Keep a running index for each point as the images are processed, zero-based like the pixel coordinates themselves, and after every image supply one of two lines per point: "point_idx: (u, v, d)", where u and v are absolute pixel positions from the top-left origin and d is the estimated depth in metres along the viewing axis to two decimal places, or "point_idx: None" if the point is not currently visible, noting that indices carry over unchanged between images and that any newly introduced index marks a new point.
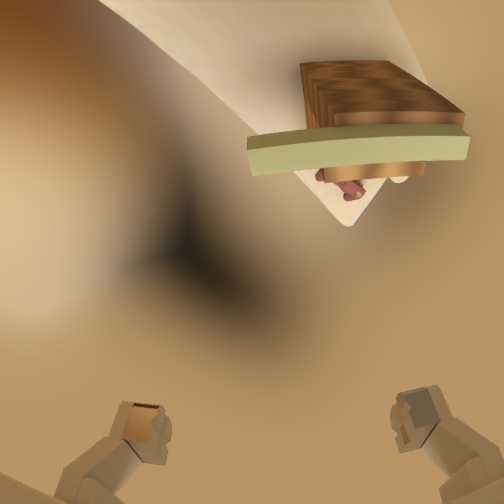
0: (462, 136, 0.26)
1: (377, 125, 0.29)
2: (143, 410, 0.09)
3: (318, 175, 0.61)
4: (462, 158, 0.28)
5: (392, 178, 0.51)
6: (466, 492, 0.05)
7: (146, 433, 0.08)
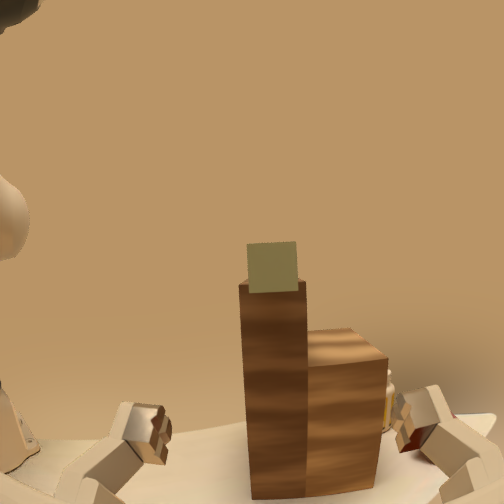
0: None
1: None
2: (143, 411, 0.09)
3: None
4: None
5: None
6: (466, 492, 0.05)
7: (146, 433, 0.08)
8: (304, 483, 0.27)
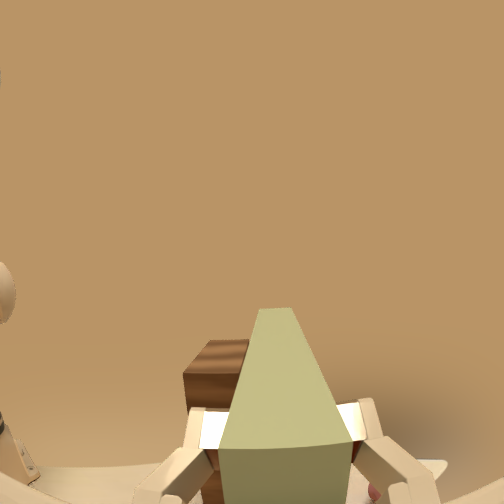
0: (259, 311, 0.29)
1: None
2: (216, 415, 0.09)
3: None
4: (289, 308, 0.29)
5: None
6: None
7: None
8: None
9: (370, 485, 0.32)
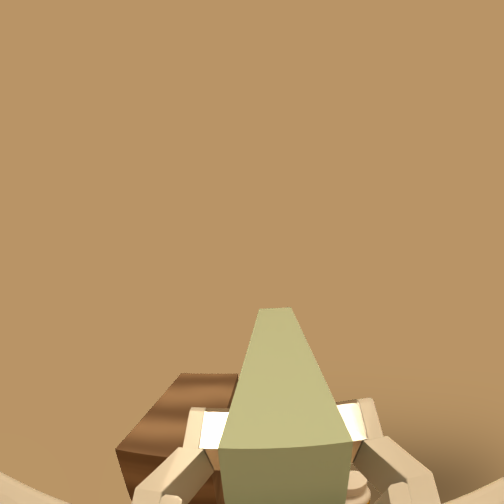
0: (259, 310, 0.29)
1: None
2: (216, 415, 0.09)
3: None
4: (289, 308, 0.29)
5: (361, 484, 0.27)
6: None
7: None
8: None
9: None
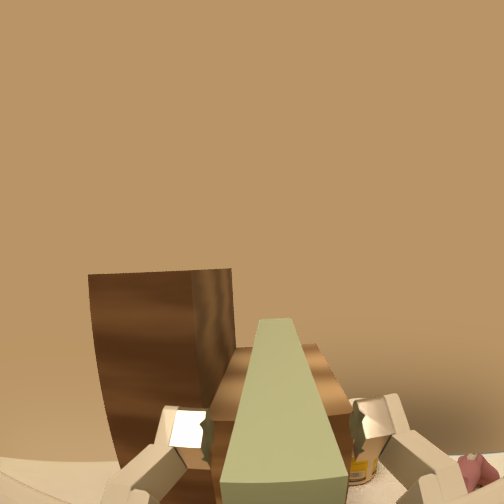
0: (259, 321, 0.29)
1: None
2: (189, 414, 0.09)
3: None
4: (289, 318, 0.29)
5: None
6: None
7: (196, 438, 0.08)
8: None
9: None
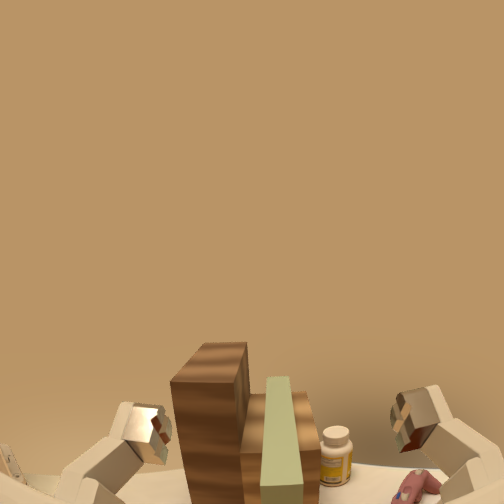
0: (267, 380, 0.40)
1: None
2: (143, 411, 0.09)
3: None
4: (287, 377, 0.41)
5: (343, 435, 0.39)
6: (466, 492, 0.05)
7: (146, 433, 0.08)
8: None
9: (393, 502, 0.27)
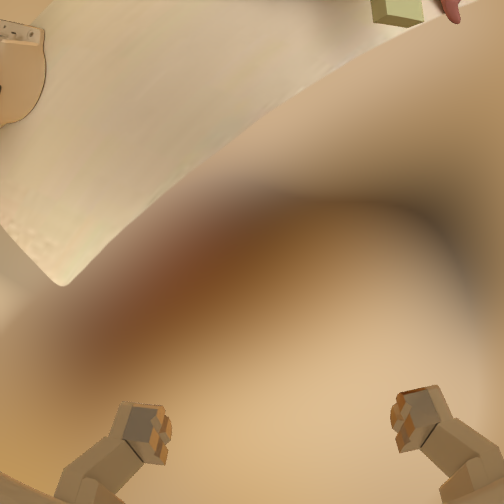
0: None
1: None
2: (143, 410, 0.09)
3: (453, 19, 0.27)
4: None
5: None
6: (466, 492, 0.05)
7: (146, 433, 0.08)
8: None
9: None
